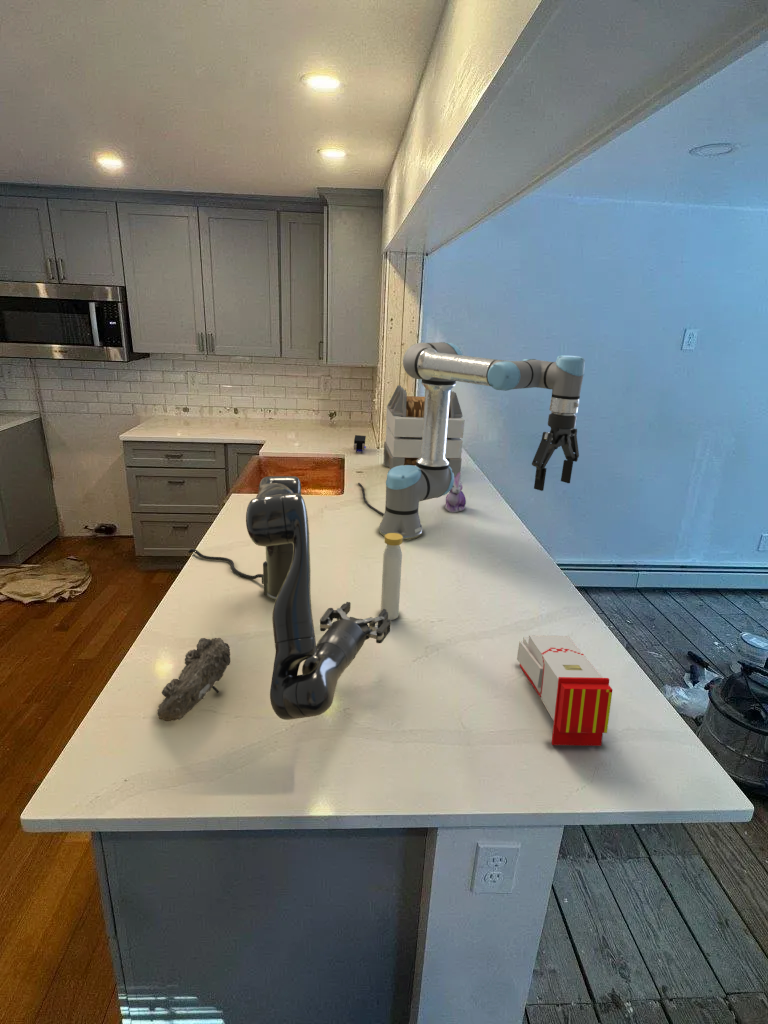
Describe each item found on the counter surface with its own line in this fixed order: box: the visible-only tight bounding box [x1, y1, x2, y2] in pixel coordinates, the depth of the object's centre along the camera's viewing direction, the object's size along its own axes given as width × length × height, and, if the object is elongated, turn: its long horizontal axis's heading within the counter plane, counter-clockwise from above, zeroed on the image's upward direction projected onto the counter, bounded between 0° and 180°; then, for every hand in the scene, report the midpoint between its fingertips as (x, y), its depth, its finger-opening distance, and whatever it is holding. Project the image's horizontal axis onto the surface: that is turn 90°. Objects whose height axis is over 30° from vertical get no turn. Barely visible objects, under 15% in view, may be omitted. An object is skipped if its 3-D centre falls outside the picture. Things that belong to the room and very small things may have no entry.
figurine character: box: [353, 434, 367, 454], centre depth 311 cm, size 7×8×15 cm
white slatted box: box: [383, 384, 465, 477], centre depth 268 cm, size 34×33×41 cm
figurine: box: [444, 471, 467, 513], centre depth 225 cm, size 9×10×15 cm
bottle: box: [380, 544, 403, 621], centre depth 143 cm, size 5×5×22 cm
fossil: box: [157, 637, 231, 723], centre depth 113 cm, size 22×10×15 cm
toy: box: [516, 634, 613, 747], centre depth 116 cm, size 12×13×30 cm
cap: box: [383, 533, 404, 546], centre depth 140 cm, size 4×4×2 cm
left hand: (366, 609), depth 126 cm, fingers open, 8 cm apart
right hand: (552, 485), depth 166 cm, fingers open, 13 cm apart
